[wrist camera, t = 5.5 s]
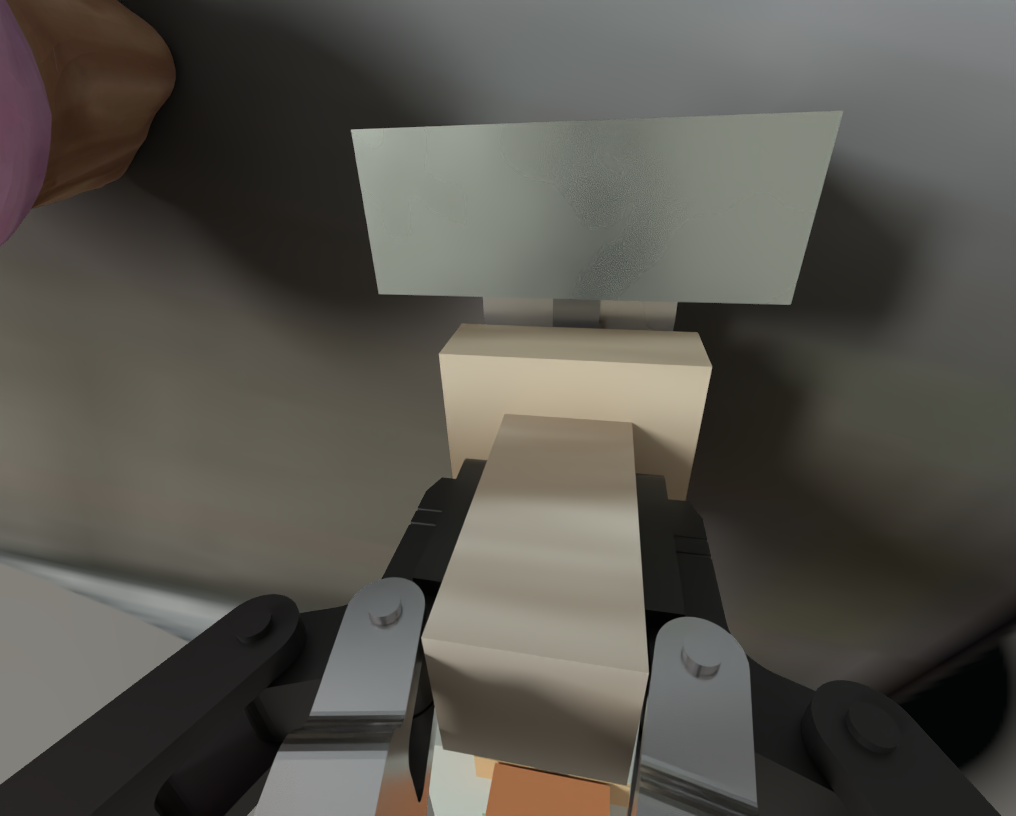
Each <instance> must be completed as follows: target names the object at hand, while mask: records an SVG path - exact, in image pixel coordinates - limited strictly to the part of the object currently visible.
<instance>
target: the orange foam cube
mask: <svg viewBox="0 0 1016 816" xmlns="http://www.w3.org/2000/svg"><path fill="white" fill-rule="evenodd" d="M485 816H610V786H607V785H602V784H597V783H592V782H587V781H582V780H577V779H572V778H567V777H562V776H557V775H552V774H547V773H542V772H537V771H532V770H527V769H522V768H517V767H512V766H507V765H502V764H497V763H495V765H494V771H493V776H492V782H491V787H490V792H489V798H488V803H487V809H486V814H485Z"/></svg>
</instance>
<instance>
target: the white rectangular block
mask: <svg viewBox="0 0 1016 816" xmlns="http://www.w3.org/2000/svg"><path fill="white" fill-rule="evenodd" d="M639 722H640V721H639ZM638 727H639V726H638ZM637 732H638V731H637ZM636 740H637V736H636ZM635 747H636V741H635V746H634V751H633V756H632V761H631V766H630V772H629V777H628V782H627V786H626V785H621V784H616V783H611V782H606V781H601V780H595V779H590V778H585V777H580V776H575V775H570V774H565V773H560V772H555V771H550V770H545V769H540V768H535V767H530V766H525V765H519V764H514V763H509V762H504V761H499V760H494V759H489V758H484V757H479V756H474V755H469V754H464V753H459V752H454V751H449V750H443V746H442V741H441V736H440V731H439V726H438V722H437V730H436V738H435V746H434V754H433V762H432V770H431V778H430V786H429V794H430V798H431V802H432V806H433V810H434V814H435V816H485V814H486V809H487V803H488V798H489V792H490V787H491V782H492V776H493V771H494V765H495V763H497V764H502V765H507V766H512V767H517V768H522V769H527V770H532V771H537V772H542V773H547V774H552V775H557V776H562V777H567V778H572V779H577V780H582V781H587V782H592V783H597V784H602V785H607V786H610V816H626V814H627V807H628V799H629V792H630V784H631V777H632V769H633V762H634V754H635Z"/></svg>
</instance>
